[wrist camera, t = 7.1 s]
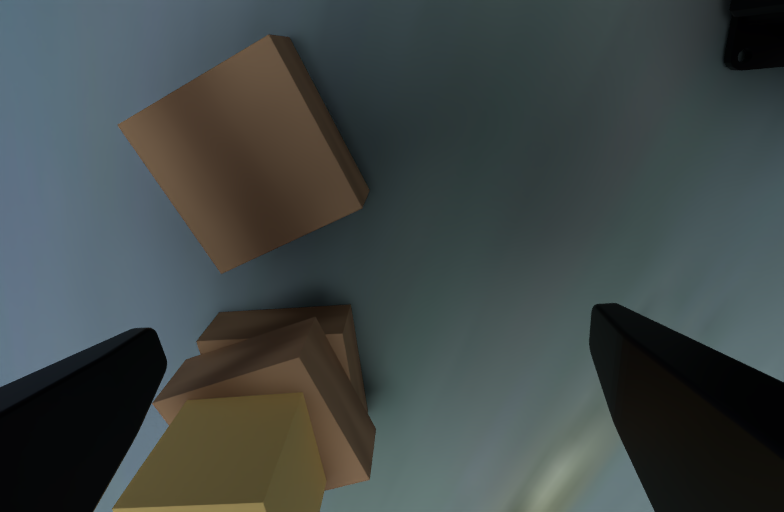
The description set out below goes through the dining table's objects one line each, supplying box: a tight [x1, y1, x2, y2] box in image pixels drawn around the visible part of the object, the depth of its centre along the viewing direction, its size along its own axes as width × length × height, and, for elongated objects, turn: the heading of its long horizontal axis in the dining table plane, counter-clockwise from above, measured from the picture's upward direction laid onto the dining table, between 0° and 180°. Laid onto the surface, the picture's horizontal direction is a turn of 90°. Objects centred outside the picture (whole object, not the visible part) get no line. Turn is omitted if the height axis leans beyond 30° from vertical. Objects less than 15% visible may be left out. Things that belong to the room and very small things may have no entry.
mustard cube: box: [112, 392, 326, 512], centre depth 17 cm, size 5×5×5 cm
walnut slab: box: [118, 35, 369, 274], centre depth 19 cm, size 7×7×3 cm
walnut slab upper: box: [152, 317, 376, 491], centre depth 21 cm, size 7×7×3 cm
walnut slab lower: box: [196, 304, 368, 413], centre depth 24 cm, size 7×7×3 cm
